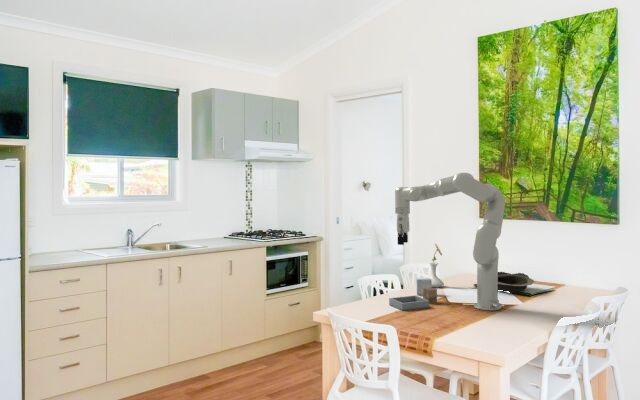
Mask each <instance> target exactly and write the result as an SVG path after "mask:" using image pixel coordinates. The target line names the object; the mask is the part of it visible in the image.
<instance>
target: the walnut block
mask: <svg viewBox="0 0 640 400" xmlns="http://www.w3.org/2000/svg"><path fill="white" fill-rule="evenodd" d="M422 298H423V299H426V300H429V305H432V304H438V288H435V287H432V288H423V295H422Z"/></svg>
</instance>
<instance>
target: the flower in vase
mask: <svg viewBox="0 0 640 400" xmlns="http://www.w3.org/2000/svg"><path fill="white" fill-rule="evenodd" d="M434 245H435V248H436V249H435V253H434V254H433V258H432V259H431V261H432V262H429V265H430V267H431V268H430V269H431V275H430V276H429V278H431V280H432V288H441V287H443V286H444V285H445V283H444V282H443V281H442V279H440V278H439V277H438V276H437V266H438V264H439V263H438V262H435V261H437V257H436V256H435V255H436V253H437V252H438V254H439V255H440V256H443V253H442V252H441V249H440V248H439V246H438V244H437V243H434Z"/></svg>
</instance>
